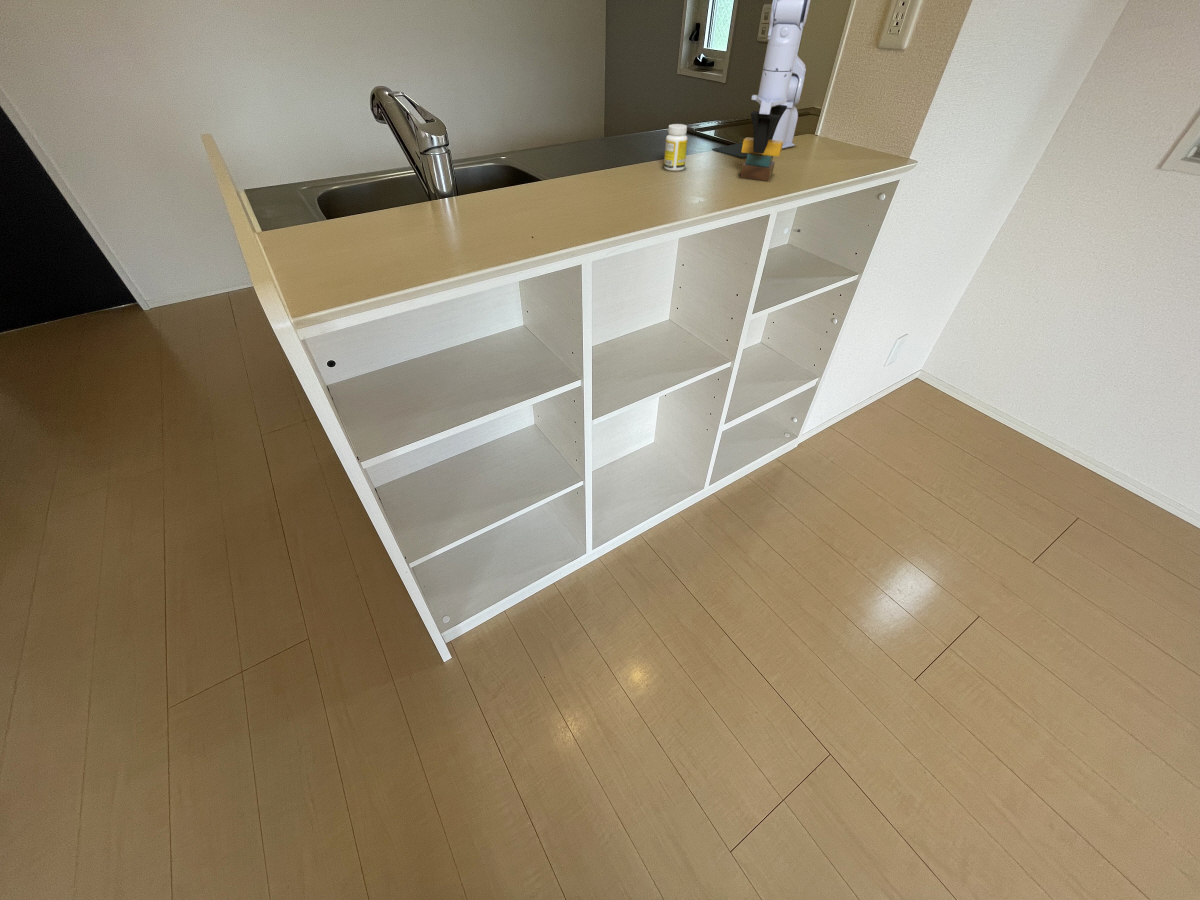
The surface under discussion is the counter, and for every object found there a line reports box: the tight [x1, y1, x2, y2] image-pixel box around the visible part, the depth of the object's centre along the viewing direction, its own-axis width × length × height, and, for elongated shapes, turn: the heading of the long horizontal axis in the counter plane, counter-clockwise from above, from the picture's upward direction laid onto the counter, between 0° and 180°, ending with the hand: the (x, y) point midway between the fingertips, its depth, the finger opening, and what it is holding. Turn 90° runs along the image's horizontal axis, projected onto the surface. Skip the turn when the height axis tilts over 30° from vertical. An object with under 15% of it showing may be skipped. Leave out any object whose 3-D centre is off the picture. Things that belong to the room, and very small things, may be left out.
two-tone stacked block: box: [740, 153, 775, 182], centre depth 111 cm, size 6×6×4 cm
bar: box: [741, 136, 783, 157], centre depth 108 cm, size 8×3×2 cm, turn 67°
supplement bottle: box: [663, 123, 688, 172], centre depth 113 cm, size 5×5×8 cm
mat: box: [712, 142, 748, 159], centre depth 129 cm, size 14×10×1 cm
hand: (761, 148), depth 109 cm, fingers open, 7 cm apart
